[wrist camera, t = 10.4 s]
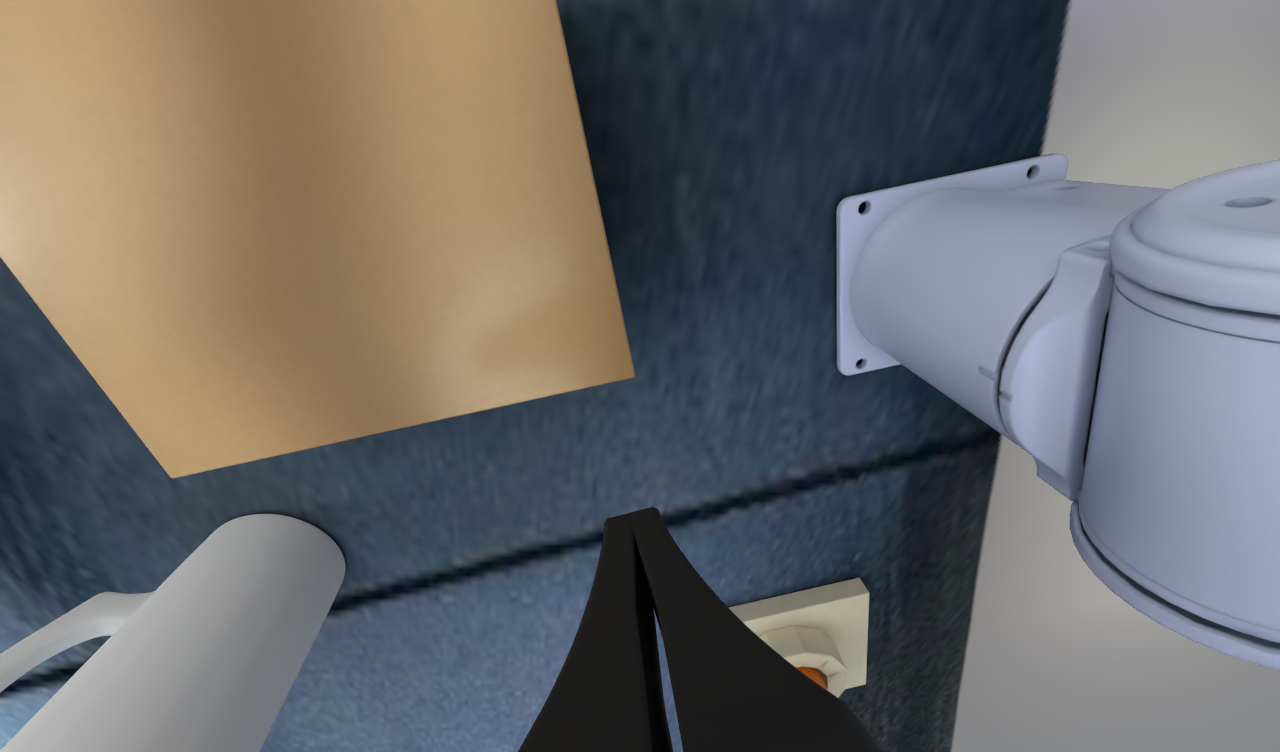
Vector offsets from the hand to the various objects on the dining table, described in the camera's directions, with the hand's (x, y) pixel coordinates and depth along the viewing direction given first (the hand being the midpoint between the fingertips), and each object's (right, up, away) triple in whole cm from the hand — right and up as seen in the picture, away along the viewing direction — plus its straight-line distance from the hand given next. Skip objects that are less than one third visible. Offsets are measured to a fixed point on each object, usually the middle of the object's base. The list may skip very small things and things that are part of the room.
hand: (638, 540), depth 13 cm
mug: (-19, -4, +11) cm, 23 cm away
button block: (+9, -13, +19) cm, 25 cm away
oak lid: (-8, +8, 0) cm, 11 cm away
